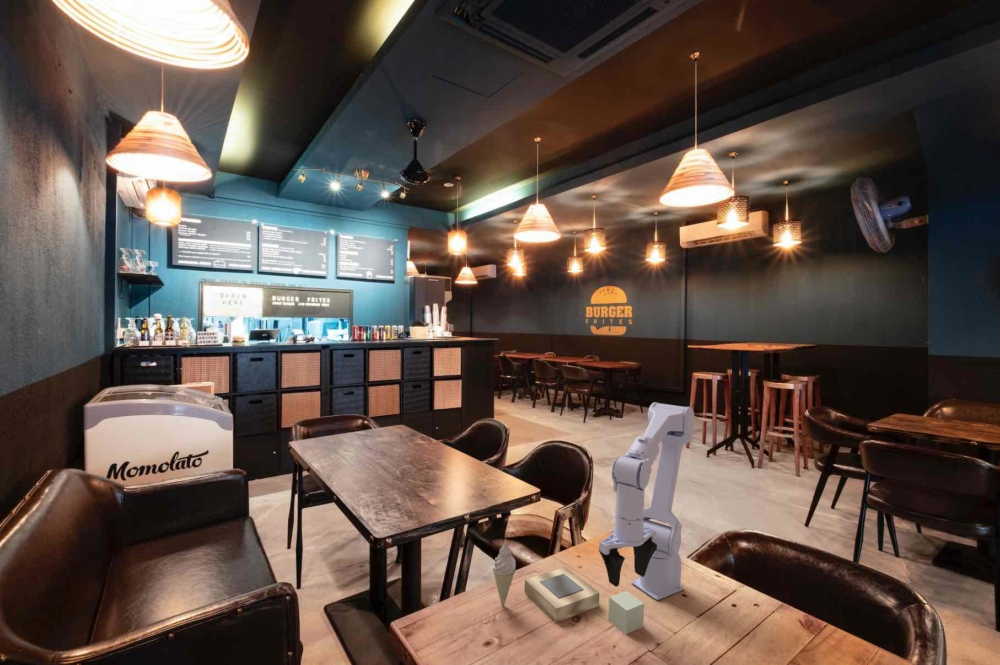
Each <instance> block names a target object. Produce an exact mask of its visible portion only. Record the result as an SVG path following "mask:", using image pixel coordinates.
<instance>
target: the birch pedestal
mask: <svg viewBox="0 0 1000 665" xmlns="http://www.w3.org/2000/svg"><path fill="white" fill-rule="evenodd" d="M523 593H525V594H526V596H528V597H529V598H530V599H531V600H532V601H533V602H534V604H536V605H537V606H538V607H539V608H540V609H541V610H542V611H543V612H544V613H545V614H546V615H547V616H548V617H550V619H551V620H552V621H553V622H555V623H559V622H561V621H564V620H567V619H569V618H572V617H574V616H576V615H579V614H583V613H584V612H588V611H589V610H592V609H596V608H597V607H599V606H600V592H599V591H598V590H597V589H595V588H594V587H592V586H591V585H590V584H589V583H587V581H585V580H584V579H582V577H581V578H580V577H579V575H577V574H576V573H574V571H571V569H569V568H568V567H566V566H564V567H562V568H557V569H555V570H551V571H548V572H544V573H541V574H538V575H535V576H533V577H529V578H526V579H524V592H523Z"/></svg>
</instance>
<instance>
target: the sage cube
mask: <svg viewBox="0 0 1000 665" xmlns="http://www.w3.org/2000/svg"><path fill="white" fill-rule="evenodd" d="M608 599H609V600H608V621H609V622H610V623H611V624H613V625H614V626H615V627H616V628H617V629H618V630H620V631H621V632H622V633H623V634H625V635H628V634H630V633H632V632H634V631H637V630H639V629H642V628H643V627H644V618H645V617H644V616H645V614H644V613H645V612H644V611H645V603H644V602H643V601H641V600H640V599H639V598H638V597H636V596H634V595H633V594H632V593H630V592H629V591H627V590H625V591H622V592H620V593H617V594H614V595H612V596H609V597H608Z"/></svg>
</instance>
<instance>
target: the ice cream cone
mask: <svg viewBox="0 0 1000 665" xmlns="http://www.w3.org/2000/svg"><path fill="white" fill-rule="evenodd" d="M498 552H499V553H498V554H497V557H495V559H494V560H495V562H493V565H494V566H493V567H492V572H493V575H494V580H495V583H496V587H497V592H498V596H499V600H500V605H501V607H504V606H505V604H506V601H507V597H508V594H509V591H510V588H511V585H512V581H513V578H514V574H515V573H516V565H517V564H516V563H517V562H516V559H515V558H514V557H513V555H512V550H511V549H510V547H509V544H508V541H507V539H506V538H505V539H504V541H503V544H502V546H501V547H500V549H499V551H498Z"/></svg>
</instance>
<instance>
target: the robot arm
mask: <svg viewBox="0 0 1000 665" xmlns="http://www.w3.org/2000/svg"><path fill="white" fill-rule="evenodd" d="M647 421H648V426H647V427H646V429H645V432H644V434H643V435H638V436H637V437H636V438H635V439H634V440H633V442H632V443H631V445H630V446H629V448H628V450H627V451H626V452H625V454H624V455H621V456H619V457H616V458H615V460H614V461H613V464H612V469H611V479H612V483H613V491H614V492H615V508H614V509H615V510H614V512H615V513H614V514H615V515H614V527H613V528H612V530H611V531H612V532H611V534H609V536H607V537H606V538H605V539H602V540H601V541H599V546H598V552H599V554H600V556H601V557H602V560H603V563H604V565H605V568H606V573H607V576H608V578H607V579H608V582H609V583H610V584H611V585H613V586H614V587H619V585H620V581H621V573H622V572H621V571H622V566H623V563H624V561H625V559H626V557H625V556H623V555H621V554H620V552H619V550H618V549H620V550H621V549H622V548H631V547H632V548H633V556H634V557H633V558H634V559H633V560H634V562H633V564H634V572H635V574H637V575H639V577H638V578H636V579H633V580H631V584H632V585H634V586H635V587H636V588H638V589H639V590H641V592H643V593H645V594H646V595H648V596H649V597H651V598H653V599H654V600H655V601H659V600H662V599H664V598H667V597H668V596H671V595H674V594H676V593H678V592H680V591H683V590H684V586H682V585H681V580H682V579H681V578H682V559H681V556H680V554H679V551H680V550H681V549H680V548H681V545H682V544H681V543H682V524H681V522H680V520H679V519H678V518H677V516H676V515H675V514H674V513H673V512H672V508H673V504H674V503H673V502H674V498H675V491H676V486H677V480H678V474H679V469H680V468H679V467H680V461H681V457H682V451H683V447H684V445H686V444H689V443H691V441H692V438H693V437H692V436H693V432H694V425H695V411H694V410H693V408H692V407H691V406H681V405H674V404H667V403H660V402H656V401H655V402H652V403H651V404H650V405H649V407H648V411H647ZM660 443H661V448H660V446H659V444H660ZM658 456H659V460H658V463H657V470H656V475H655V481H654V486H653V490H652V497H651V503H650V506H649V507H646V508H645V489H646V488H647V487H648V485H649V482H650V477H651V474H652V471H653V469H652V466H653V464H654V463H655V461H656V460H657V457H658ZM653 520H655V521H653ZM657 521H658V522H657ZM661 522H662V523H661ZM663 523H664V524H663Z"/></svg>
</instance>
